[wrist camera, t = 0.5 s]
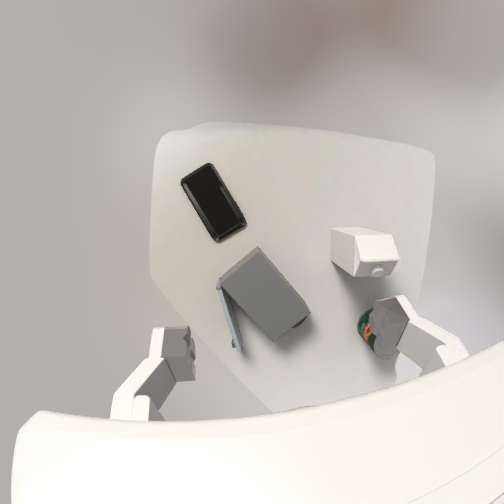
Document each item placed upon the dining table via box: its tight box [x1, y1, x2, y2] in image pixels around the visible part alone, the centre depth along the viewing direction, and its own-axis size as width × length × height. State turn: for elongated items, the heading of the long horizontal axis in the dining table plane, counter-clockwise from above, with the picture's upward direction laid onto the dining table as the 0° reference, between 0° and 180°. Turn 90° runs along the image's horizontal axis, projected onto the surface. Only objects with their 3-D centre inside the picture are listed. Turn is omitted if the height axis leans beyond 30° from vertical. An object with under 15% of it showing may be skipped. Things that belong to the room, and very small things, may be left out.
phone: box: [181, 163, 246, 241], centre depth 60 cm, size 8×1×15 cm
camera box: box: [220, 246, 311, 341], centre depth 60 cm, size 17×10×7 cm, turn 40°
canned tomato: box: [357, 309, 401, 359], centre depth 60 cm, size 8×8×11 cm
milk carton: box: [331, 227, 402, 278], centre depth 53 cm, size 7×7×19 cm
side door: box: [216, 277, 242, 351], centre depth 61 cm, size 15×2×6 cm, turn 15°
